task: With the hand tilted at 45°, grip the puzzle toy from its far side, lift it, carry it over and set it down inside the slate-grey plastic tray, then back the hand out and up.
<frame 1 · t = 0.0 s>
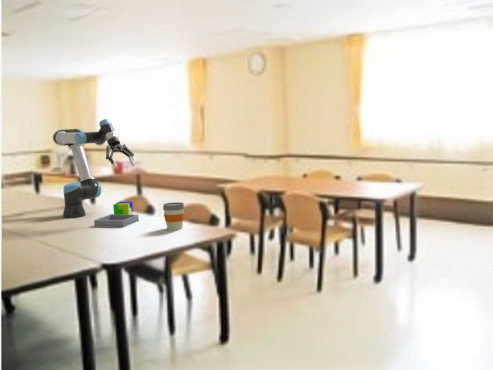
hand: (124, 166, 347), 36 cm above the table, tool tilted 35°, fingers open, 13 cm apart
puzzle toy: (123, 217, 362), on the table
tray: (117, 223, 342), on the table
reusable coffee cup: (174, 229, 319), on the table
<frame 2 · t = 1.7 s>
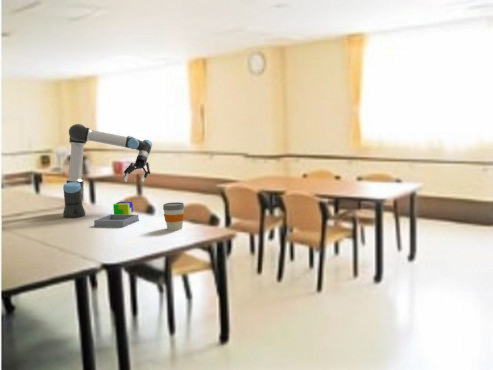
hand: (133, 181, 376), 23 cm above the table, tool tilted 45°, fingers open, 13 cm apart
nothing on the table moved.
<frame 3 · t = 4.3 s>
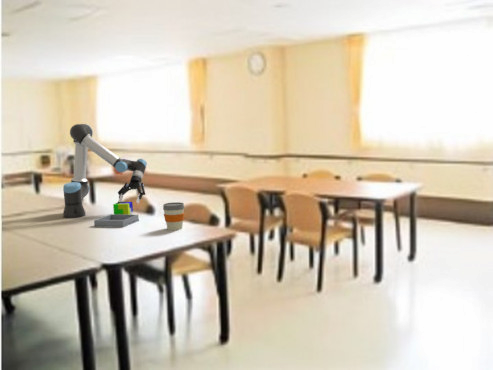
hand: (128, 202, 366), 9 cm above the table, tool tilted 45°, fingers open, 13 cm apart
puzzle toy: (123, 217, 362), on the table, touching gripper
everything else where it was.
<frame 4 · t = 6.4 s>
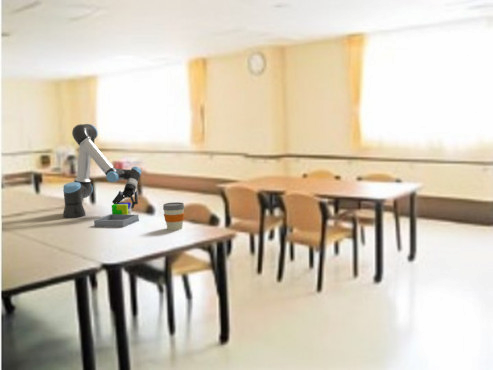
hand: (121, 211, 359), 4 cm above the table, tool tilted 45°, fingers closed on puzzle toy, 11 cm apart
puzzle toy: (122, 218, 359), on the table, touching gripper
everything else where it was.
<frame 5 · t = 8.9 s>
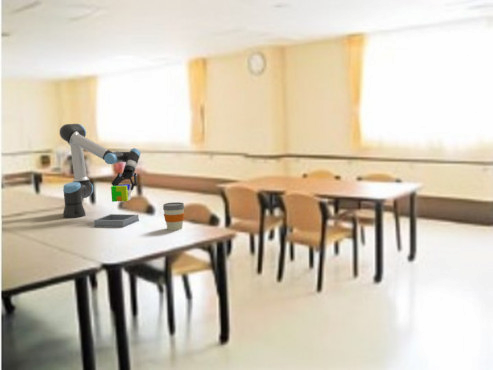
hand: (120, 193, 356), 17 cm above the table, tool tilted 45°, fingers closed on puzzle toy, 11 cm apart
puzzle toy: (121, 200, 356), point 13 cm above the table, touching gripper
everything else where it was.
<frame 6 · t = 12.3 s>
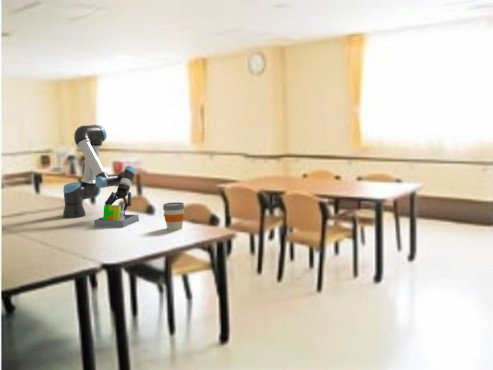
hand: (113, 214, 338), 7 cm above the table, tool tilted 45°, fingers closed on puzzle toy, 10 cm apart
puzzle toy: (113, 221, 338), point 2 cm above the table, touching gripper, tray
everything else where it was.
when the fingers open (7 cm above the table, at t = 12.6 s): puzzle toy drops 1 cm, resting on tray.
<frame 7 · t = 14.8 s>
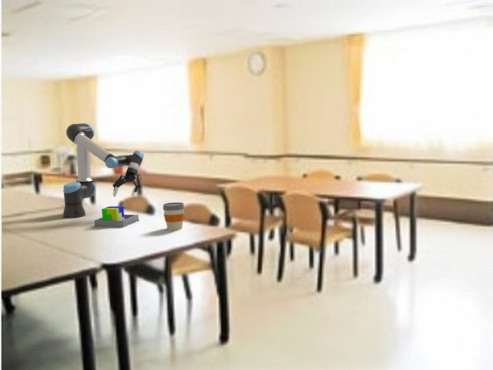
hand: (123, 195, 350), 16 cm above the table, tool tilted 45°, fingers open, 13 cm apart
puzzle toy: (113, 223, 338), point 1 cm above the table, touching tray
everything else where it was.
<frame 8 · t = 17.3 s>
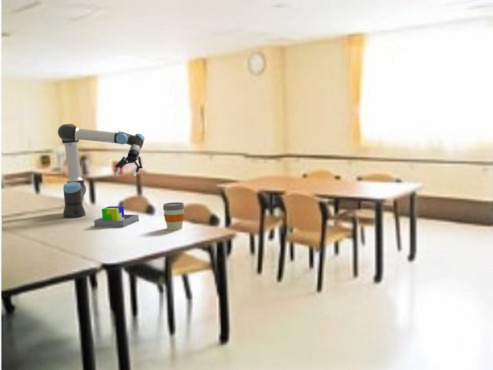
hand: (125, 175, 369), 28 cm above the table, tool tilted 45°, fingers open, 13 cm apart
nothing on the table moved.
at the end: puzzle toy inside the target area on the tray (3.5 cm from its centre), point 0.8 cm above the tray's base; puzzle toy tilted 0°; the gripper is holding nothing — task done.
